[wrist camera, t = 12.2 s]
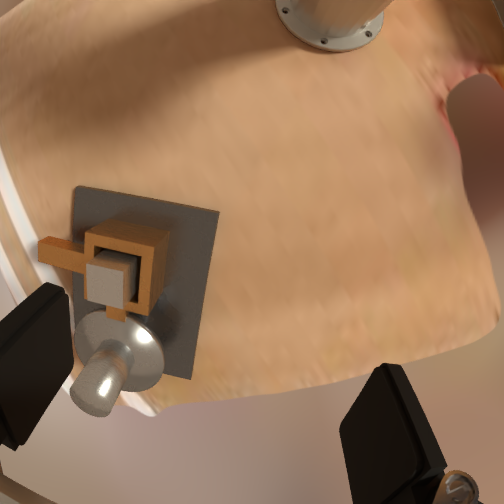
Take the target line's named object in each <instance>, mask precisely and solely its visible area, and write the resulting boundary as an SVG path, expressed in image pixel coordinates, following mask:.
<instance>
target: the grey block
mask: <svg viewBox="0 0 504 504" xmlns="http://www.w3.org/2000/svg"><path fill="white" fill-rule="evenodd" d="M141 258H142V256H138V255H134V254H129V253H125V252H121V251H116V250H112V249H108V248H106V249H104V250H103V251H102V252H100V253H99V254H98V255H97V256H95V257H94V258H93V259H91V260H90V261H89V262H87V263H86V278H87V301H91V302H95V303H99V304H103V305H107V306H111V307H115V308H119V309H124V307H125V306H126V305H127V303H128V302H129V301H130V299H131V298H132V297H133V295H134V294H135V293H136V291H137V290H138V289H139V282H140V269H141Z"/></svg>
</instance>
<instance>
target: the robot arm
mask: <svg viewBox="0 0 504 504" xmlns="http://www.w3.org/2000/svg"><path fill="white" fill-rule="evenodd" d="M392 1H393V0H275V5H276V9H277V13H278V15H279V17H280V19H281V21H282V22H283V24H284V25H285V26H286V28H287V29H288V30H289V31H290V32H291V33H292V34H293V35H294V36H296V37H297V38H299V39H300V40H302V41H303V42H305V43H307V44H309V45H311V46H313V47H316V48H319V49H322V50H327V51H333V52H346V51H352V50H356V49H359V48H361V47H364V46H365V45H367V44H368V43H370V42H371V41H372V40H373V39H374V38H375V37H376V36H377V35H378V33H379V32H380V30H381V28H382V25H383V20H384V9H385V8H386V7H387V6H388V5H389V4H390V3H391V2H392ZM283 12H287V14H285V13H283ZM366 35H368V37H367V36H366ZM321 42H324V43H325V44H322V43H321ZM73 365H74V357H73V349H72V339H71V327H70V313H69V297H68V295H67V294H65V290H64V288H62V287H60V286H57V285H54V284H52V283H49V282H46V283H44V284H43V285H41V286H40V287H39V288H38V289H37V290H36V291H34V292H33V293H32V294H31V295H30V296H28V297H27V298H26V299H25V300H24V301H23V302H21V303H20V304H19V305H18V306H17V307H16V308H15V309H14V310H12V311H11V312H10V313H9V314H8V315H7V316H6V317H5V318H3V319H2V320H1V321H0V445H1V444H4V445H5V446H7V447H9V448H10V449H12V450H14V451H16V449H17V448H18V446H19V445H24V444H25V442H26V441H27V440H28V438H29V436H30V435H31V433H32V431H33V430H34V428H35V427H36V425H37V423H38V422H39V420H40V418H41V417H42V415H43V414H44V412H45V410H46V409H47V407H48V406H49V404H50V403H51V401H52V400H53V398H54V397H55V395H56V394H57V392H58V390H59V389H60V387H61V386H62V384H63V383H64V381H65V380H66V378H67V377H68V376H69V374H70V373H71V371H72V369H73ZM339 432H340V438H341V443H342V448H343V453H344V458H345V463H346V468H347V473H348V479H349V484H350V490H351V495H352V501H353V504H483V503H481V502H479V501H478V498H479V490H478V486H477V484H476V482H475V480H474V479H473V478H472V477H471V476H470V475H469V474H467V473H466V472H463V471H460V470H453V471H449V472H448V473H447V474H445V473H444V469H445V468H446V467H447V463H446V461H445V459H444V456H443V454H442V452H441V449H440V447H439V445H438V442H437V440H436V438H435V436H434V433H433V431H432V429H431V427H430V424H429V422H428V420H427V418H426V415H425V413H424V411H423V409H422V407H421V405H420V403H419V401H418V398H417V396H416V394H415V392H414V390H413V388H412V386H411V384H410V382H409V380H408V378H407V376H406V374H405V372H404V370H403V368H402V367H401V365H398V364H389V363H382V364H381V365H380V366H379V367H376V368H375V369H374V370H373V372H372V374H371V376H370V377H369V379H368V381H367V382H366V384H365V386H364V388H363V389H362V391H361V392H360V394H359V396H358V397H357V399H356V400H355V402H354V403H353V405H352V407H351V408H350V410H349V412H348V413H347V414H346V416H345V418H344V419H343V421H342V422H341V425H340V428H339ZM0 504H57V503H55V502H53V501H51V500H49V499H47V498H45V497H43V496H41V495H39V494H37V493H35V492H33V491H31V490H30V489H28V488H26V487H24V486H22V485H21V484H19V483H17V482H15V481H13V480H12V479H10V478H8V477H7V476H5V475H3V471H2V467H1V462H0Z"/></svg>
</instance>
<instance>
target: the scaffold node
mask: <svg viewBox="0 0 504 504" xmlns="http://www.w3.org/2000/svg"><path fill="white" fill-rule="evenodd" d="M219 213H220V212H219V211H214V210H209V209H204V208H199V207H194V206H189V205H184V204H179V203H174V202H169V201H163V200H158V199H153V198H147V197H142V196H136V195H131V194H125V193H120V192H114V191H109V190H103V189H97V188H91V187H85V186H77V187H76V190H75V203H74V219H73V242H71V241H67V240H63V239H59V238H55V237H51V236H48V237H46V238H44V239H42V240H40V241H38V261H39V262H43V263H46V264H50V265H53V266H56V267H60V268H63V269H67V270H71V271H73V303H74V320H75V334H74V343H75V348H76V352H77V354H78V356H79V358H80V360H81V362H82V363H83V365H84V366H85V367H84V368H83V370H82V371H81V373H80V374H79V376H78V377H77V379H76V380H75V382H74V383H73V385H72V386H71V388H70V396H71V398H72V400H73V402H74V403H75V404H76V405H77V406H78V407H79V408H80V409H81V410H83V411H84V412H86V413H88V414H90V415H92V416H95V417H106V416H108V415H109V414H110V412H111V410H112V408H113V406H114V404H115V402H116V400H117V398H118V396H119V393H120V391H121V390H122V391H128V392H140V391H144V390H147V389H149V388H151V387H153V386H154V385H155V384H156V383H157V382H158V381H159V380H160V378H161V376H162V373H164V374H168V375H172V376H176V377H180V378H185V379H189V380H191V377H192V371H193V365H194V358H195V351H196V345H197V339H198V332H199V326H200V320H201V314H202V308H203V302H204V296H205V290H206V284H207V278H208V273H209V267H210V261H211V256H212V250H213V245H214V239H215V234H216V229H217V223H218V218H219ZM106 248H108V249H112V250H116V251H121V252H125V253H129V254H134V255H138V256H142V258H141V269H140V282H139V289H138V290H137V291H136V293H135V294H134V295H133V297H132V298H131V299H130V301H129V302H128V303H127V305H126V306H125V307H124V309H119V308H115V307H111V306H107V305H103V304H99V303H95V302H91V301H87V278H86V263H87V262H89V261H90V260H91V259H93V258H94V257H95V256H97V255H98V254H99V253H100V252H102V251H103V250H104V249H106Z"/></svg>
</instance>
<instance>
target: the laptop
mask: <svg viewBox="0 0 504 504" xmlns="http://www.w3.org/2000/svg"><path fill="white" fill-rule="evenodd" d="M492 2H493V4H494V6H495V8H496V11H497V13H498V15H499V18H500V20H501V23H502V25H503V27H504V0H492Z"/></svg>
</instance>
